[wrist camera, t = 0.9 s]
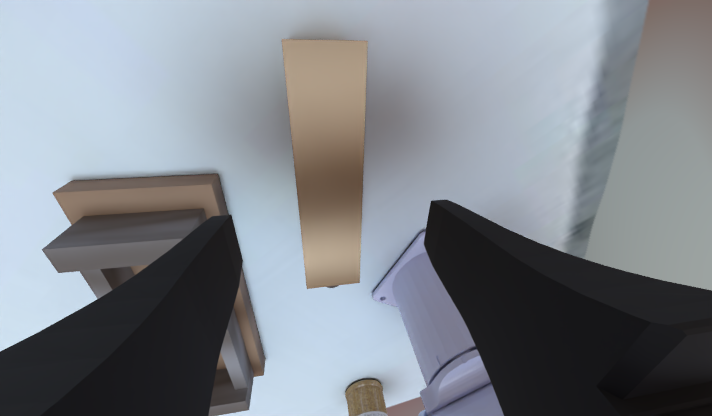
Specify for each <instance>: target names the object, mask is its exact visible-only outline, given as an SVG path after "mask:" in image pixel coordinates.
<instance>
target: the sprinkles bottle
mask: <svg viewBox="0 0 712 416" xmlns="http://www.w3.org/2000/svg"><path fill="white" fill-rule="evenodd" d="M382 391H383V388H382V385H381V384H380V383H379V382H378V381H376V380H361V381H358V382H356V383H354V384H352V385H351V386H350V387H349V388H348V389H347V391H346V393H345V396H346V399H347V404H348V412H349V416H388V415H387V411H386V406H385V402H384V397H383V392H382Z"/></svg>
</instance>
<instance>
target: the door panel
mask: <svg viewBox="0 0 712 416" xmlns="http://www.w3.org/2000/svg"><path fill="white" fill-rule="evenodd" d="M367 44H368V41H352V40H304V39H282V47H283V57H284V67H285V77H286V87H287V97H288V107H289V117H290V127H291V136H292V146H293V156H294V166H295V176H296V186H297V196H298V206H299V216H300V225H301V235H302V245H303V255H304V265H305V275H306V285H307V289H309V288H318V287H328V288H334V287H337V286H339V285H344V284H353V283H360V253H361V223H362V193H363V163H364V133H365V104H366V74H367Z"/></svg>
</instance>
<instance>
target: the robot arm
mask: <svg viewBox="0 0 712 416" xmlns="http://www.w3.org/2000/svg"><path fill="white" fill-rule="evenodd" d="M242 262H243V260H242V256H241V252H240V248H239V244H238V240H237V236H236V232H235V228H234V224H233V220H232V216H231V215H221V216H212V217H210V218H209V219H207V220H206V221H205V222H204V223H202V224H201V225H200V226H198V227H197V228H196V229H195V230H194V231H192V232H191V233H190V234H189V235H187V236H186V237H185V238H184V239H182V240H181V241H180V242H179V243H177V244H176V245H175V246H174V247H172V248H171V249H170V250H169V251H167V252H166V253H165V254H163V255H162V256H161V257H159V258H158V259H157V260H155V261H154V262H152V263H151V264H150V265H148V266H147V267H146V268H144V269H143V270H142V271H140V272H139V273H137V274H136V275H135V276H133V277H132V278H130V279H129V280H127V281H126V282H124V283H123V284H121V285H120V286H118V287H116V288H115V289H113V290H112V291H110V292H108V293H107V294H105V295H104V296H102V297H100V298H99V299H97V300H96V301H94V302H92V303H91V304H89V305H87V306H85V307H83V308H82V309H80V310H78V311H76V312H74V313H73V314H71V315H69V316H67V317H65V318H64V319H62V320H60V321H58V322H56V323H55V324H53V325H51V326H49V327H47V328H46V329H44V330H42V331H40V332H38V333H36V334H34V335H32V336H30V337H28V338H26V339H24V340H23V341H21V342H19V343H17V344H15V345H13V346H11V347H9V348H7V349H5V350H3V351H1V352H0V416H209V409H210V403H211V397H212V391H213V386H214V380H215V375H216V370H217V364H218V360H219V356H220V352H221V348H222V344H223V341H224V337H225V334H226V330H227V327H228V323H229V320H230V317H231V313H232V310H233V306H234V303H235V299H236V296H237V292H238V289H239V284H240V277H241V270H242ZM372 297H373V299H374V300H375V301H379V302H382V303H385V304H389V305H392V306H396V307H398V308H399V311H400V314H401V316H402V319H403V322H404V325H405V327H406V330H407V333H408V336H409V338H410V341H411V344H412V347H413V349H414V352H415V355H416V358H417V360H418V363H419V366H420V369H421V371H422V374H423V377H424V380H425V382H426V385H427V387H426V388H425V389H423V390H422V391H420V395H421V398H422V401H423V404H424V407H425V410H423V411H421V412H420V413H419V415H418V416H712V291H711V290H706V289H701V288H696V287H691V286H686V285H682V284H677V283H672V282H667V281H662V280H658V279H654V278H650V277H645V276H642V275H638V274H634V273H630V272H625V271H622V270H619V269H615V268H611V267H608V266H604V265H601V264H598V263H595V262H591V261H588V260H585V259H582V258H578V257H575V256H573V255H570V254H567V253H564V252H561V251H558V250H556V249H553V248H550V247H548V246H545V245H543V244H540V243H537V242H535V241H533V240H530V239H528V238H526V237H523V236H521V235H519V234H517V233H515V232H512V231H510V230H508V229H506V228H504V227H502V226H500V225H498V224H496V223H494V222H492V221H490V220H488V219H486V218H484V217H482V216H480V215H478V214H476V213H474V212H472V211H470V210H468V209H466V208H464V207H462V206H460V205H458V204H456V203H453V202H451V201H448V200H435V201H431V205H430V210H429V216H428V221H427V227H426V232H422V233H420V234H419V236H418V237H417V238H416V239H415V241H414V242H413V243H412V244H411V246H410V247H409V248H408V249H407V251H406V252H405V253H404V254H403V256H402V257H401V258H400V259H399V261H398V262H397V263H396V264H395V266H394V267H393V268H392V270H391V271H390V272H389V273H388V275H387V276H386V277H385V278H384V280H383V281H382V282H381V283H380V285H379V286H378V287H377V288H376V290H375V291H374V292H373V294H372Z"/></svg>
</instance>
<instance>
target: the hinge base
mask: <svg viewBox="0 0 712 416" xmlns="http://www.w3.org/2000/svg"><path fill="white" fill-rule="evenodd" d="M53 195H54V196H55V198H56V200H57V201H58V203H59V205H60V206H61V208H62V210H63V211H64V213H65V215H66V216H67V218H68V219H69V221H70V223H71V224H72V226H70V227H69V228H68V229H67V230H66V231H64V232H63V233H62V234H61V235H59V236H58V237H57V238H56V239H54V240H53V241H52V242H51V243H49V244H48V245H47V246H46V247H45V248H43V249H42V251H43V252H44V253H45V255H46V256H47V258H48V259H49V260H50V262H51V263H52V265H53V266H54V267H55V269H56V270H57V272H58V273H63V272H74V271H80V273H81V274H82V276H83V277H84V279H85V280H86V282H87V283H88V285H89V286H90V288H91V289H92V291H93V292H94V294H95V295H96V297H97V298H98V299H99V298H100V297H102V296H104V295H105V294H107V293H108V292H110V291H112V290H113V289H115V288H116V287H118V286H120V285H121V284H123V283H124V282H126V281H127V280H129V279H130V278H132V277H133V276H135V275H136V274H137V273H139V272H140V271H142V270H143V269H144V268H146V267H147V266H148V265H150V264H151V263H152V262H154V261H155V260H157V259H158V258H159V257H161V256H162V255H163V254H165V253H166V252H167V251H169V250H170V249H171V248H172V247H174V246H175V245H176V244H177V243H179V242H180V241H181V240H182V239H184V238H185V237H186V236H187V235H189V234H190V233H191V232H192V231H194V230H195V229H196V228H197V227H198V226H200V225H201V224H202V223H204V222H205V221H206V220H207V219H209V218H210V217H212V216H221V215H228V211H227V207H226V203H225V199H224V196H223V192H222V188H221V184H220V180H219V176H218V174H205V175H184V176H163V177H142V178H121V179H100V180H80V181H71V182H69V183H67V184H66V185H64V186H63V187H61V188H59V189H58V190H56V191H54V192H53ZM264 367H265V357H264V353H263V349H262V345H261V341H260V337H259V333H258V329H257V325H256V321H255V317H254V313H253V310H252V306H251V302H250V298H249V294H248V290H247V286H246V282H245V278H244V274H243V270H241V277H240V284H239V289H238V292H237V296H236V299H235V303H234V306H233V310H232V313H231V317H230V320H229V323H228V327H227V330H226V334H225V337H224V341H223V344H222V348H221V352H220V356H219V360H218V364H217V370H216V375H215V380H214V386H213V391H212V397H211V403H210V409H209V416H217V415H223V414H229V413H234V412H240V411H246V410H249V406H250V399H251V392H252V385H253V377H256V376H262V375H264Z"/></svg>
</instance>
